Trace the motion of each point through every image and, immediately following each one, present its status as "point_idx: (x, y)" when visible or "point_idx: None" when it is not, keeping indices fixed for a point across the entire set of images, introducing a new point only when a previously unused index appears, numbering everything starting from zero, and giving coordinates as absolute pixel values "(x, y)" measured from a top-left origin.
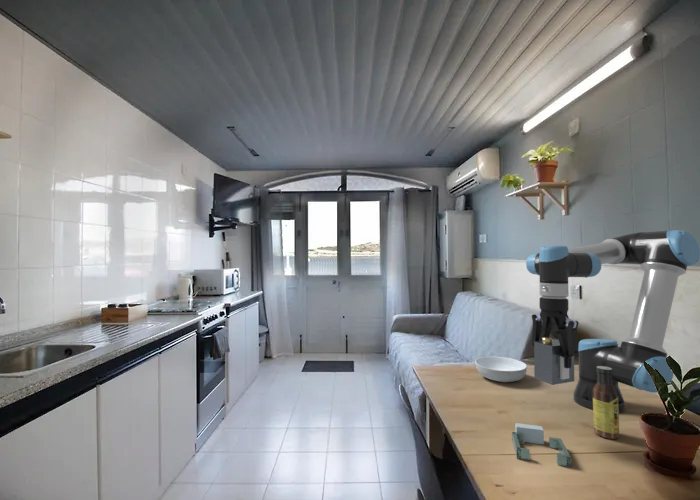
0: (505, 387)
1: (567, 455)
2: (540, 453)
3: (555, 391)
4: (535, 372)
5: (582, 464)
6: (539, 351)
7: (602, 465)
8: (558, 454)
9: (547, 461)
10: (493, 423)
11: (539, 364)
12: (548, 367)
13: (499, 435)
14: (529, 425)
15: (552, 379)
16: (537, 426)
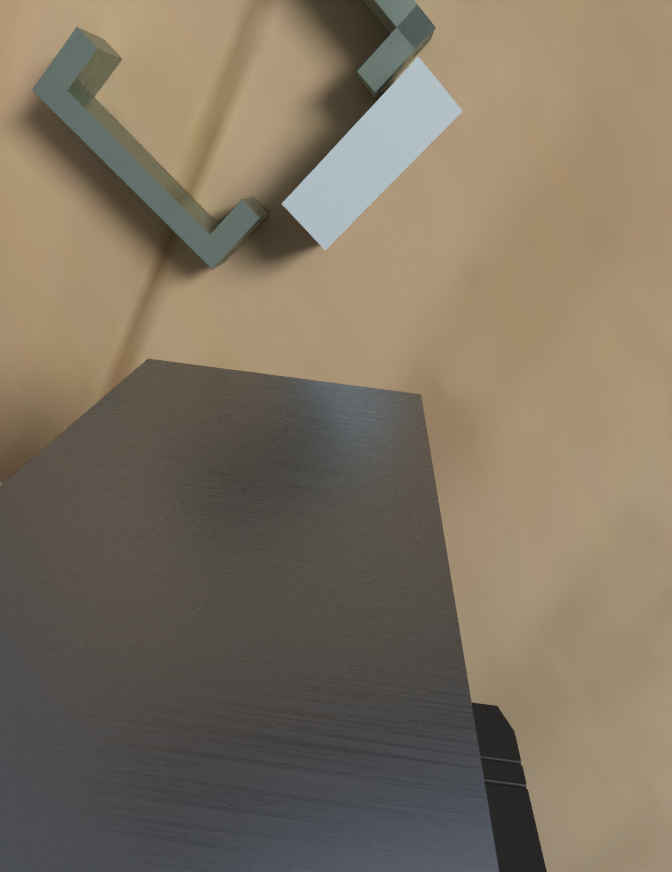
0: None
1: (53, 89)
2: (235, 70)
3: (634, 850)
4: (405, 423)
5: (61, 191)
6: (284, 675)
7: (21, 280)
8: (81, 43)
9: (155, 17)
10: (661, 147)
11: (320, 484)
12: (124, 457)
13: (528, 18)
14: (378, 178)
15: (120, 384)
16: (338, 220)
